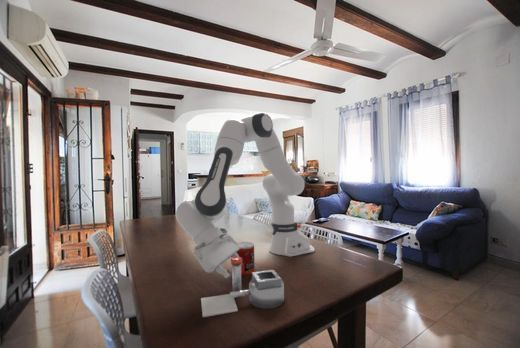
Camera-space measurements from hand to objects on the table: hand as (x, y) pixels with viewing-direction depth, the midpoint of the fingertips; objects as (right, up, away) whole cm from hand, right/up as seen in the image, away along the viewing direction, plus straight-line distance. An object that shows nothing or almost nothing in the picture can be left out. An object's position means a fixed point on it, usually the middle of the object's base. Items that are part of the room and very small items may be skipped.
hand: (234, 270), depth 85 cm
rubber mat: (-4, -7, -9) cm, 12 cm away
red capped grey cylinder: (+1, -7, 0) cm, 7 cm away
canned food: (+2, -7, +16) cm, 18 cm away
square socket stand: (+8, -7, -6) cm, 12 cm away
